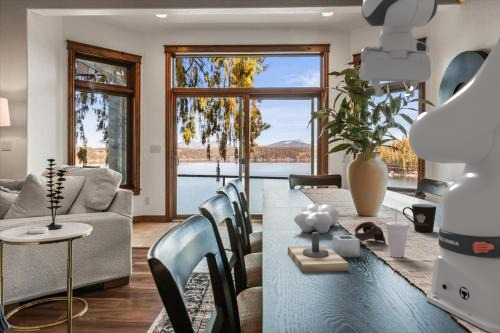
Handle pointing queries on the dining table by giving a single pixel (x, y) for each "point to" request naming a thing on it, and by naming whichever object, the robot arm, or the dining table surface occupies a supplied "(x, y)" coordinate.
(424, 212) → the coffee mug
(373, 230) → the brown hollow curved piece
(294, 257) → the post block
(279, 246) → the dining table surface
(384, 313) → the dining table surface
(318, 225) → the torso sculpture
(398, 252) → the smoothie
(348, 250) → the grey hollow square block
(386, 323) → the dining table surface
